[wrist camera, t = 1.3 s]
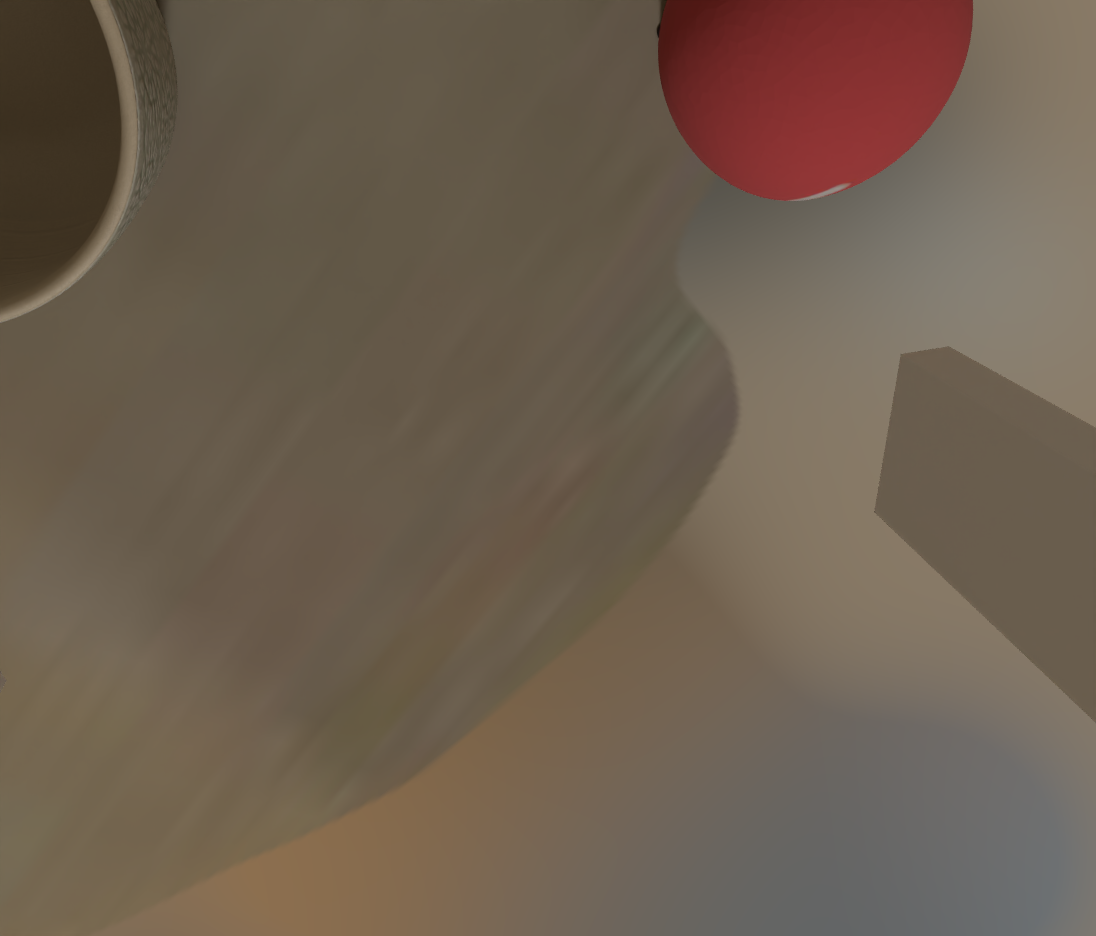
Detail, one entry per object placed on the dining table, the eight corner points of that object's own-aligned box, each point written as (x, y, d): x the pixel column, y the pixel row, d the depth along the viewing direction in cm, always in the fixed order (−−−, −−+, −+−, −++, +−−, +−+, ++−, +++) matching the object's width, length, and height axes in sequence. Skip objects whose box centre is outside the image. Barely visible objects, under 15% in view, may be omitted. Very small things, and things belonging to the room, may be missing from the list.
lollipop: (529, 24, 29) (663, 29, 17) (689, -137, 28) (969, -266, 15) (646, 182, 33) (828, 286, 20) (792, 48, 32) (1085, 69, 19)
